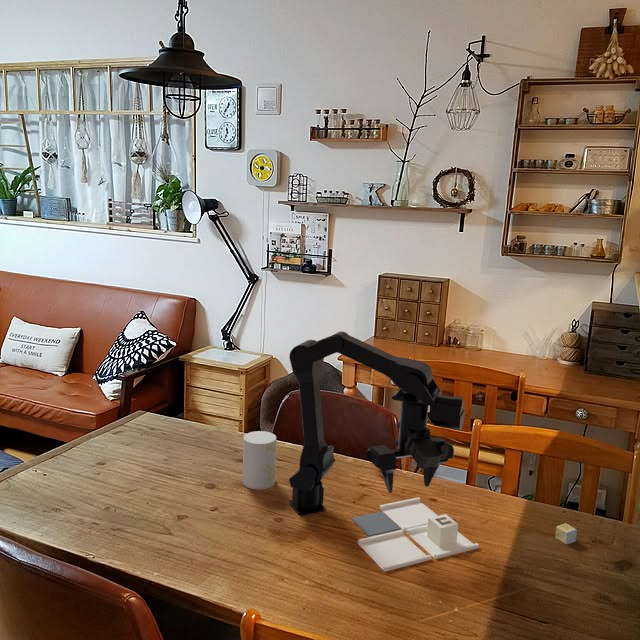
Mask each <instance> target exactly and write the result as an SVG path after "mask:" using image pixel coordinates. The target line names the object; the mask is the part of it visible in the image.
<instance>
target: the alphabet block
mask: <svg viewBox="0 0 640 640" xmlns="http://www.w3.org/2000/svg"><path fill="white" fill-rule="evenodd" d="M577 533H578V530H577V529H576V528H575V527H574V526H571V525H569V524H568V523H562V524H560V525H557V526H556V529H555V539H557V540H558V541H560V542H561V543H563V544H565V545H570V544H572V543H575V542H577Z"/></svg>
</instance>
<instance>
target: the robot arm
mask: <svg viewBox="0 0 640 640" xmlns="http://www.w3.org/2000/svg"><path fill="white" fill-rule="evenodd" d="M336 353H337V354H340V355H342V356H344V357H347V358H348V359H350V360H353V361H355V362H357V363H359V364H361V365H363V366H366V367H367V368H370V369H372V370H374V371H375V372H377V373H380V374H382V375H384V376H385V377H387V378H388V379H389V380H390V381H391V382H392V383H393V384H394V385H395V386H397V388H399V390H398V391H396V392H395V393H394V394H393V395H392V396H391V399H392V400H393V401H398V402H400V416H399V421H397V422H396V425H395V426H396V428H397V429H398V439H396V440H395V442H394V445H395V446H396V447H397V448H396V449H390V448H389V447H388V446H386V445H385V444H382V445H381V444H380V445H376V446H375V445H374V446H370V447H369V448H368V449H367V451H366V460H368V461H369V463H371V464H372V465H374V466H375V467H376V468H377V469H379V471H380V473H381V476H382V479H383V481H384V484H385V487H386V489H387V492H388V493H389V494H391V493H393V488H394V487H393V486H394V472H395V471H396V470H397V467H396V466H395V465H396V464H397V459H398V460H399V459H404V458H410V457H411V458H413V460H414V462H415V463H416V466H417V467H418V468H420V469H423V483H424V484H423V485H424V486H425V487H426V488H428V487H429V486H430V484H431V482H432V480H433V478H434V475H435V474H436V471H437V470H438V468H439V467H440V466H441V465H443V464H444V463H447V462H448V461H449V460H450V459H454V456H455V448H454V446H453V445H452V443H450V442H448V441H447V440H446V439H444V438H443V437H433V438H431V429H430V428H428V427H427V426H428V425H427V424H428V420H429V421H430V424H432V426H433V427H440V428H445V429H448V430H449V429H450V430H455V431H462V429H463V426H464V422H465V414H466V409H465V403H464V400H465V398H464V397H463V396H451V395H447V394H446V395H444V394H441V393H442V390H441V389H440V387H439V385H438V384H437V383H436V380H435V379H434V376H433V371H432V369H431V366H430V365H429V364H428V363H426V362H423V361H421V360H417V359H413V358H408V357H400V356H396V355H393V354H391V353H389V352H387V351H384V350H382V349H380V348H377V347H376V346H373V345H372V344H369V343H367V342H365V341H363V340H360V339H358V338H356V337H354V336H352V335H349V334H348V333H347V332H346V331H341V330H340V331H337V332H335V333H334V334H332V335H330V336H327V337H324V338H322V339H319V340H315V339H308V340H305V341H304V342H302V343H301V342H300V344H298V345H296V346H294V347H293V348H292V349H291V351H290V352H289V363H290V365H291V370H292V373H293V375H294V377H295V378H296V380H297V382H298V385H299V399H300V409H301V421H302V433H303V446H302V450H301V453H300V457H299V469H298V470H297V471H296V472H295V473H293V475H291V476H290V477H289V479H288V481H289V485H290V487H291V488H292V494H291V495H292V498H291V499H290V500H289V502H288V503H289V505H290V506H291V508H293V509H294V511H296V512H297V514H298V515H301V516H302V515H306V514H307V515H308V514H311V513H315V512H316V513H317V512H321V511H324V510H325V508H326V507H325V506H324V505H323V504H324V495H325V494H324V492H325V488H324V486H323V482H322V481H321V480H323V478H324V477H325V476H326V475H327V474H328V473H329V472H330V471H331V470H332V468H333V465H334V463H335V462H336V459H335V456H334V453H335V452H334V451H335V450H334V449H335V447H334V445H328V443H327V442H326V440H325V433H324V422H323V419H324V418H323V410H322V397H321V384H320V383H321V382H320V379H321V376H322V371H323V367H324V360H325V358H327V357H329V356H331V355H333V354H336Z"/></svg>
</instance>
